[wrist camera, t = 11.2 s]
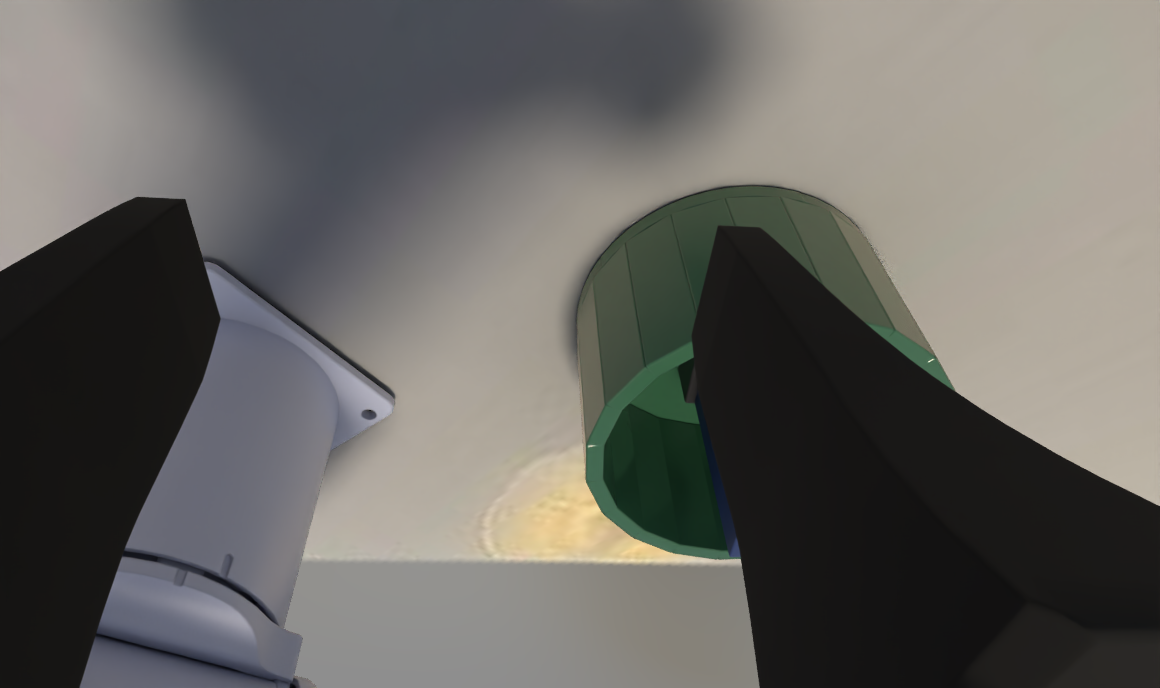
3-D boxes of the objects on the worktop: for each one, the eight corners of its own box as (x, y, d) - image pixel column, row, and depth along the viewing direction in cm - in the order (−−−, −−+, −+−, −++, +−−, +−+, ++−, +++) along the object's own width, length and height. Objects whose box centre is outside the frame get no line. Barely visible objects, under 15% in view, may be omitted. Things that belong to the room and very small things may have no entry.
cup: (675, 455, 30) (700, 593, 25) (514, 298, 24) (510, 440, 20) (921, 336, 26) (1002, 473, 22) (798, 119, 21) (872, 243, 16)
